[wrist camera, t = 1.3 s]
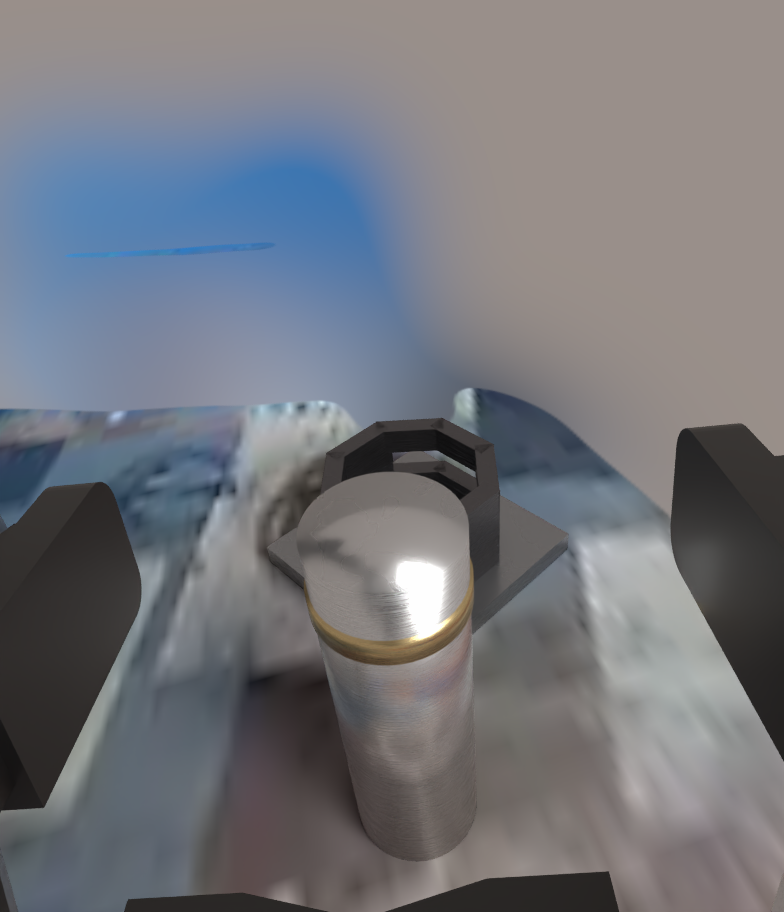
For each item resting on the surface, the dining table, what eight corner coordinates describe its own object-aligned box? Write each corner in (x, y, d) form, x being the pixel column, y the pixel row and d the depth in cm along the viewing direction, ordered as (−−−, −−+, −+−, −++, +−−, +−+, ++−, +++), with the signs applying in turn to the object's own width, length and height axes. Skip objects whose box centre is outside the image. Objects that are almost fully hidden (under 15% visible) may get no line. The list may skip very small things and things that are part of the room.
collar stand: (270, 561, 43) (248, 478, 39) (416, 461, 49) (409, 381, 45) (417, 683, 36) (407, 597, 32) (567, 549, 42) (574, 462, 38)
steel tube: (331, 800, 32) (257, 532, 22) (417, 721, 34) (385, 448, 24) (417, 893, 29) (377, 629, 19) (504, 797, 31) (509, 521, 21)
